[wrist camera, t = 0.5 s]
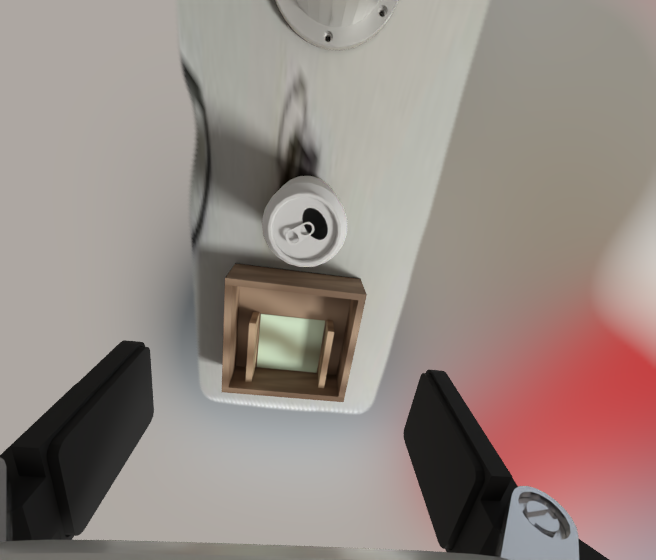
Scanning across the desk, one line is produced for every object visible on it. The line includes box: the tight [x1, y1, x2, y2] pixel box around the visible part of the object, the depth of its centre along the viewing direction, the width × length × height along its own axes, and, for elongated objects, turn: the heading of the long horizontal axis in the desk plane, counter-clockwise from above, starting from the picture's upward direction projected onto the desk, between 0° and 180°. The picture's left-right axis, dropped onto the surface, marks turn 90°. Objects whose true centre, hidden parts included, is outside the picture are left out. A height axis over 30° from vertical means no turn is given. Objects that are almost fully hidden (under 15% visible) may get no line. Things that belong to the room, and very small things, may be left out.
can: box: [262, 176, 347, 267], centre depth 31 cm, size 8×8×12 cm
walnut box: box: [222, 263, 366, 402], centre depth 40 cm, size 16×16×5 cm
